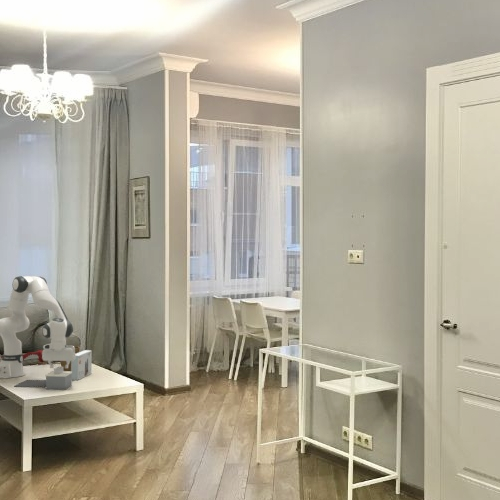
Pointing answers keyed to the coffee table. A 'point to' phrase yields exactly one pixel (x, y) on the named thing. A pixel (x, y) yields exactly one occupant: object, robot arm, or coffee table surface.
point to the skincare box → (81, 365)
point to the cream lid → (59, 372)
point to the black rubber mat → (32, 383)
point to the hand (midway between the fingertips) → (59, 368)
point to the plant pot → (70, 361)
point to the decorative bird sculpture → (35, 354)
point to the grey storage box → (58, 382)
